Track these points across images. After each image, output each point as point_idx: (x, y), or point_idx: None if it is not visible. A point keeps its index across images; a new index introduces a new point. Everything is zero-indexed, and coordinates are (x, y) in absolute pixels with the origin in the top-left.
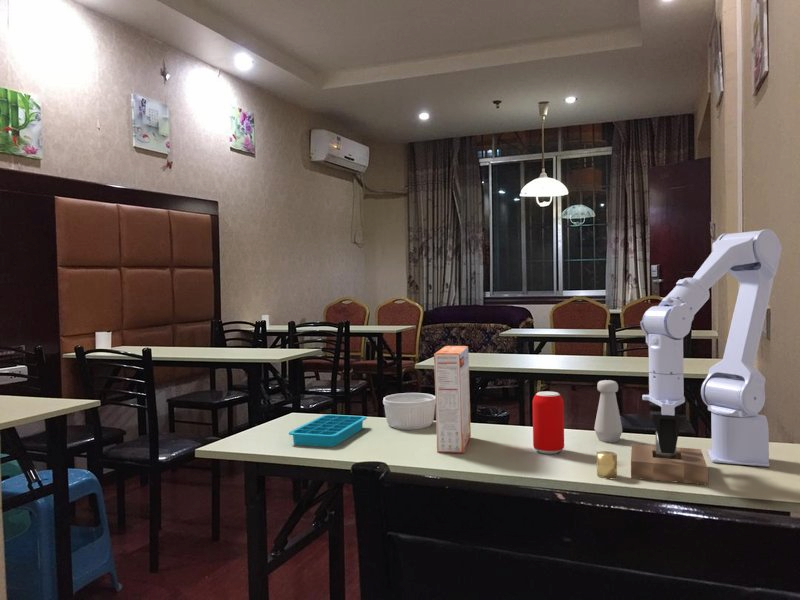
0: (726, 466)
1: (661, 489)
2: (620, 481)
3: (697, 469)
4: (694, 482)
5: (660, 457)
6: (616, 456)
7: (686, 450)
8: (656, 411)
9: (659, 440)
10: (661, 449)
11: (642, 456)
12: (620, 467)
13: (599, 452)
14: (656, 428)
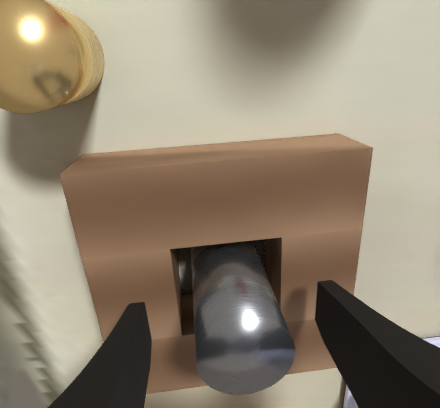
0: (327, 372)
1: (12, 254)
2: (18, 120)
3: None
4: None
5: (197, 269)
6: (19, 111)
7: (314, 335)
8: (416, 402)
9: (105, 342)
10: (122, 314)
11: (166, 211)
12: (213, 100)
13: (16, 1)
14: (55, 401)
